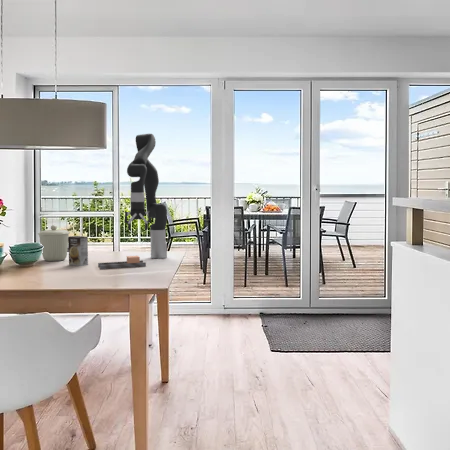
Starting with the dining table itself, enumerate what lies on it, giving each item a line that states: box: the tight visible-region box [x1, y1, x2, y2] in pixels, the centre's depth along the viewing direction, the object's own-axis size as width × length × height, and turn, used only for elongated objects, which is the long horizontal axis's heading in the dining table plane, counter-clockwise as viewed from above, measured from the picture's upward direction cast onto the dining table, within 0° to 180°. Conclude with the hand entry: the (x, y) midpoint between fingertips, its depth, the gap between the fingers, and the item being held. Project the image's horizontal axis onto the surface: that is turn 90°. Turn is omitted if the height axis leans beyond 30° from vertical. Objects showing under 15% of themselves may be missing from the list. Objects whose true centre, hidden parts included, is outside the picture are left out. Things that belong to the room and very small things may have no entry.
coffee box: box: [68, 235, 89, 267], centre depth 285 cm, size 9×6×16 cm
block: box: [126, 255, 141, 263], centre depth 274 cm, size 6×6×5 cm
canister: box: [37, 224, 70, 262], centre depth 304 cm, size 18×18×21 cm
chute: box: [97, 260, 147, 270], centre depth 272 cm, size 24×10×3 cm, turn 110°
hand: (138, 230), depth 277 cm, fingers open, 8 cm apart
